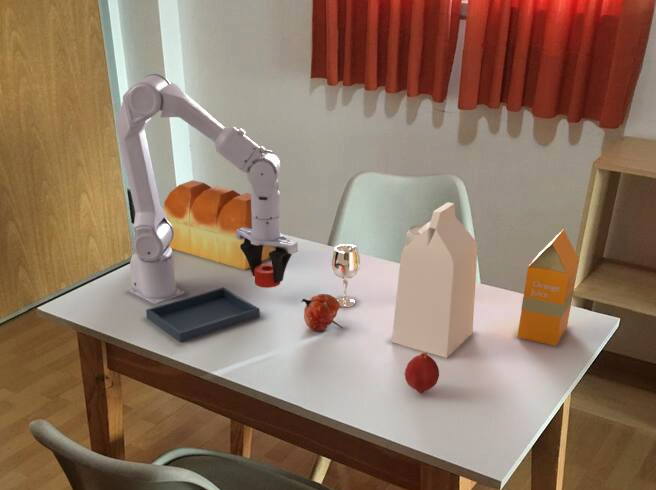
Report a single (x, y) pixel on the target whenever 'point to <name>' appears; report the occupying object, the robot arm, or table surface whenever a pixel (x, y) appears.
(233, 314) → the tray
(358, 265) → the wineglass
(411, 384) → the onion
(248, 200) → the bread
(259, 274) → the ring
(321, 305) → the pomegranate
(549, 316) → the orange juice
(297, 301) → the table surface
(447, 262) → the milk
